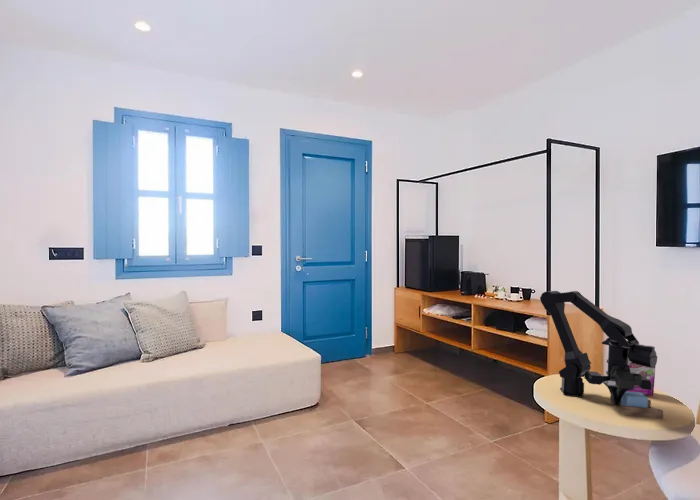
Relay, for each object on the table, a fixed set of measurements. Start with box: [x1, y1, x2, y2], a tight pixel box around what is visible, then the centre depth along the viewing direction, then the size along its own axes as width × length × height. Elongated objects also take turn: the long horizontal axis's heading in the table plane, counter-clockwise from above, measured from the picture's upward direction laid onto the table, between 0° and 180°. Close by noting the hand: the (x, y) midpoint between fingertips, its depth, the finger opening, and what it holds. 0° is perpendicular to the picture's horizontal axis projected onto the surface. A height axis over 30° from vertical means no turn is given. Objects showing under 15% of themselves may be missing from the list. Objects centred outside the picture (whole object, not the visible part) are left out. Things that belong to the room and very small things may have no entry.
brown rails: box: [609, 395, 664, 419], centre depth 135 cm, size 12×9×2 cm
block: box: [621, 392, 649, 408], centre depth 135 cm, size 6×4×6 cm
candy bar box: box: [626, 359, 656, 397], centre depth 151 cm, size 11×5×16 cm, turn 77°
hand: (616, 404), depth 136 cm, fingers closed
